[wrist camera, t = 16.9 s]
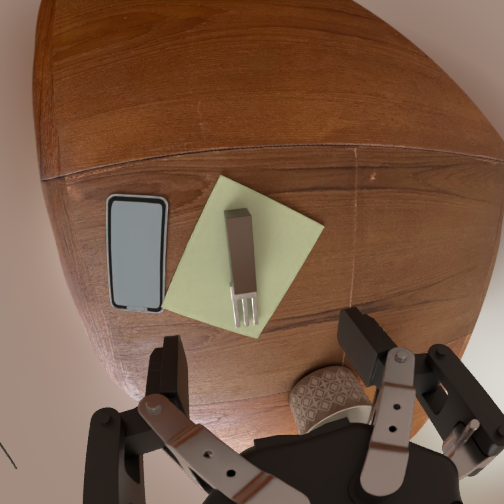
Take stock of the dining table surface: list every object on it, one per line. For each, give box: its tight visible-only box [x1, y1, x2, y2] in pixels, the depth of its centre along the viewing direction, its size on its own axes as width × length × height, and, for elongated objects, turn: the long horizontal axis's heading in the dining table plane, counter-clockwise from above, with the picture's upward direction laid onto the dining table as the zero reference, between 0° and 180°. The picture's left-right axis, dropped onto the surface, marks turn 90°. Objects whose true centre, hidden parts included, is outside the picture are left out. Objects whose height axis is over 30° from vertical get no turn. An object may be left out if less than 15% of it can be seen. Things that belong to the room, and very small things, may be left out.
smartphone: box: [106, 194, 168, 313], centre depth 33 cm, size 7×1×15 cm
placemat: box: [161, 175, 324, 339], centre depth 36 cm, size 18×14×1 cm
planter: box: [288, 366, 372, 435], centre depth 43 cm, size 13×13×10 cm
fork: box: [224, 208, 258, 328], centre depth 34 cm, size 15×3×3 cm, turn 4°
